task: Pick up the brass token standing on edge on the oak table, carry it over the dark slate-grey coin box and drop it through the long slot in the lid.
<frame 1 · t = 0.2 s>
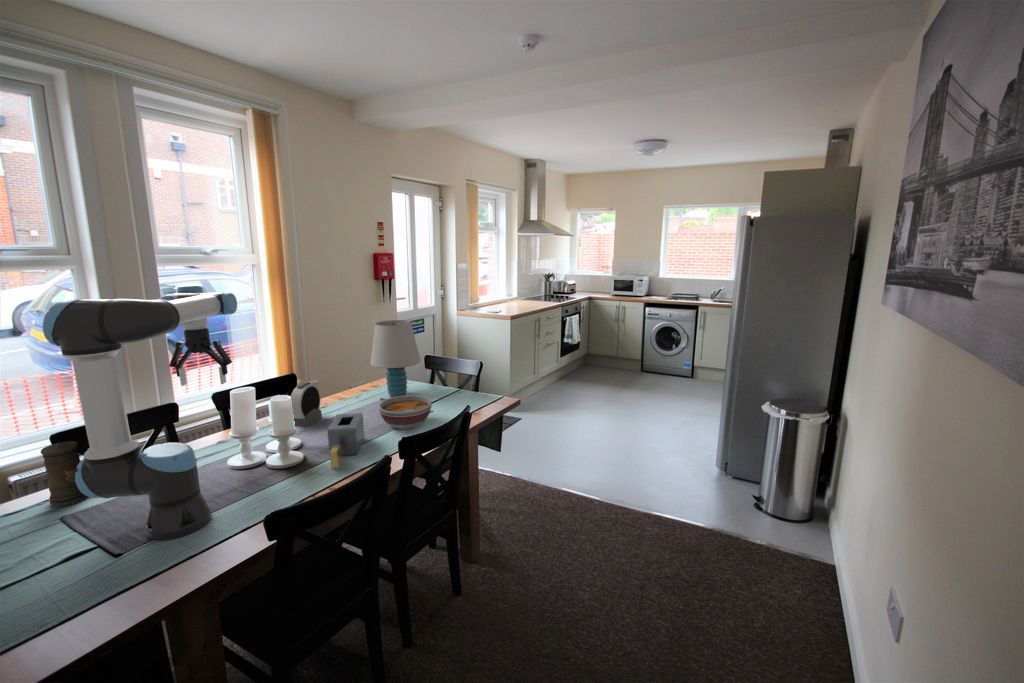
hand: (204, 384, 173), 28 cm above the table, fingers open, 13 cm apart
token: (336, 464, 169), on the table
coin box: (348, 447, 183), on the table
lamp: (397, 395, 247), on the table
bowl: (406, 425, 207), on the table
alarm clock: (307, 421, 211), on the table
container: (70, 500, 147), on the table
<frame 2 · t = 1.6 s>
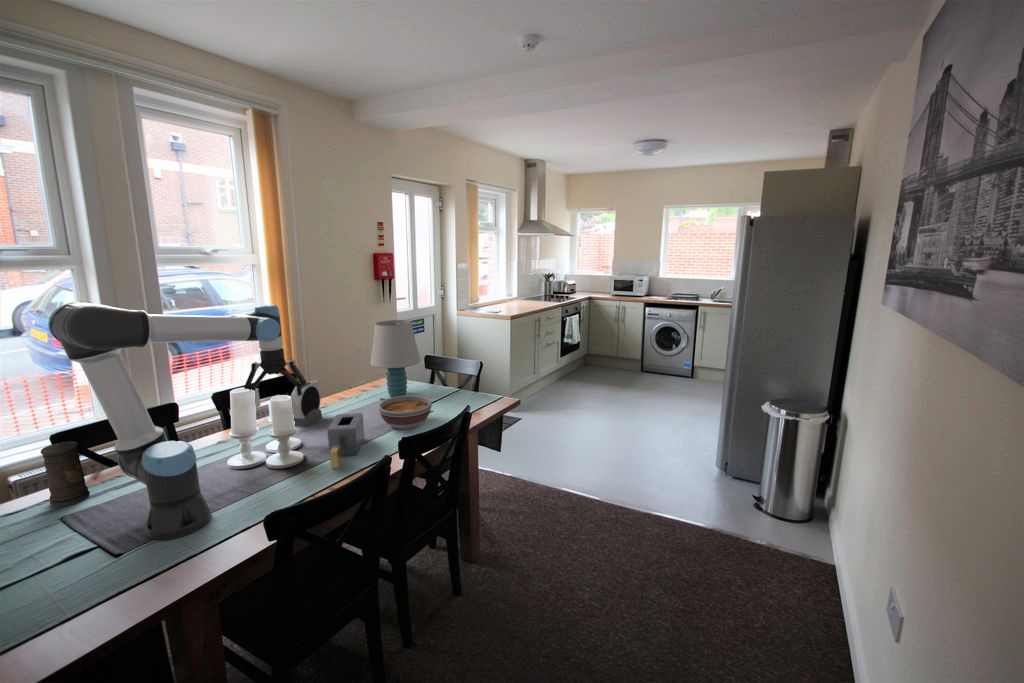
hand: (278, 405, 169), 21 cm above the table, fingers open, 13 cm apart
nothing on the table moved.
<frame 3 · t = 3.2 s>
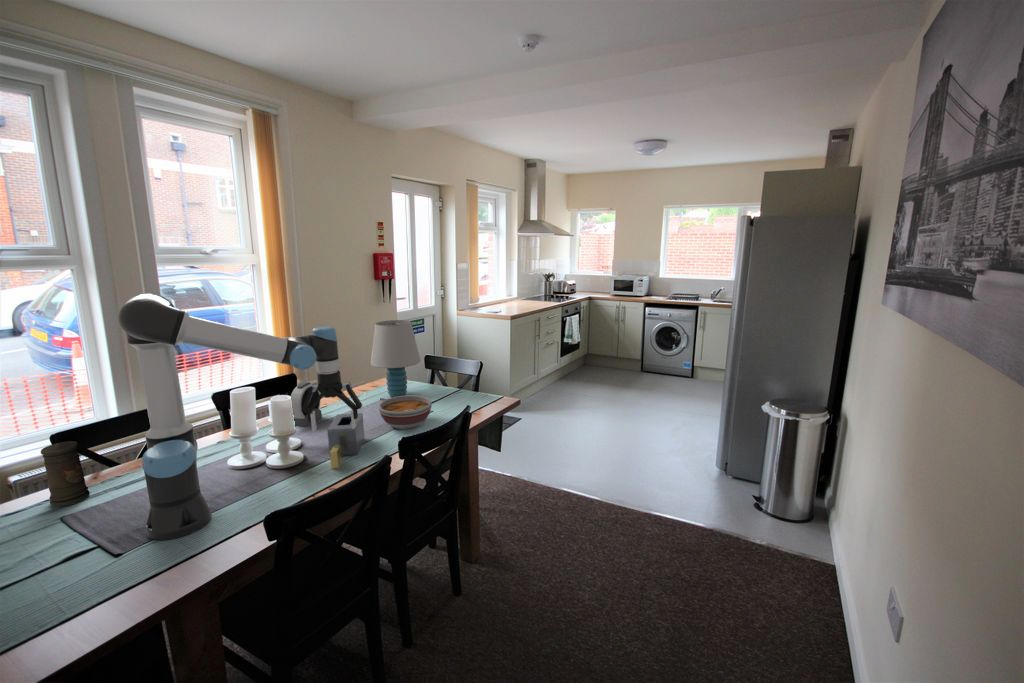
hand: (334, 428, 166), 14 cm above the table, fingers open, 13 cm apart
nothing on the table moved.
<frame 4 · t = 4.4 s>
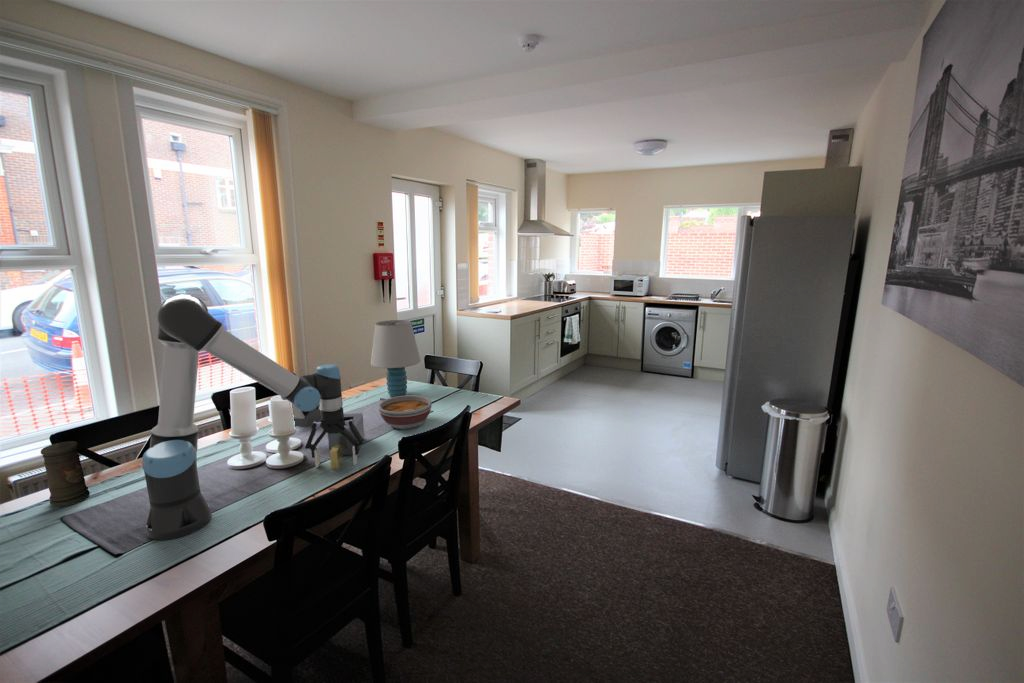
hand: (336, 464, 169), 0 cm above the table, fingers open, 12 cm apart
nothing on the table moved.
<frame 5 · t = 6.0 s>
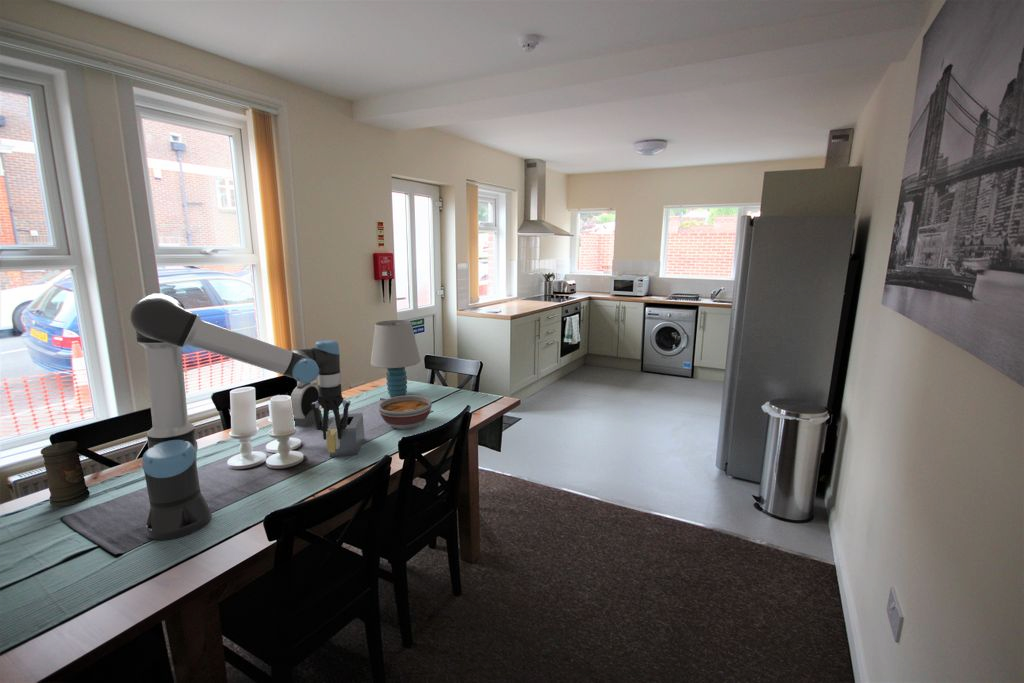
hand: (333, 447, 167), 7 cm above the table, fingers closed on token, 2 cm apart
token: (333, 448, 167), point 6 cm above the table, touching gripper
everything else where it was.
when the fingers open (13 cm above the table, at t = 8.0 s): token drops 11 cm, resting on coin box.
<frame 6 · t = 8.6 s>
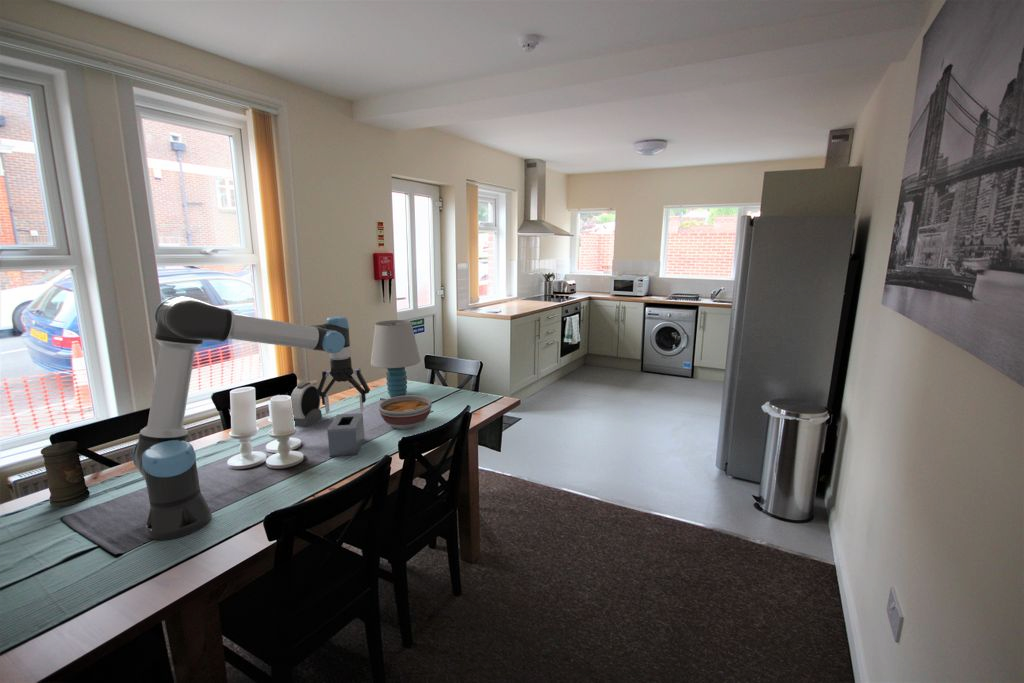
hand: (345, 411, 180), 15 cm above the table, fingers open, 12 cm apart
token: (347, 444, 183), point 1 cm above the table, tilted 26°, touching coin box
everything else where it was.
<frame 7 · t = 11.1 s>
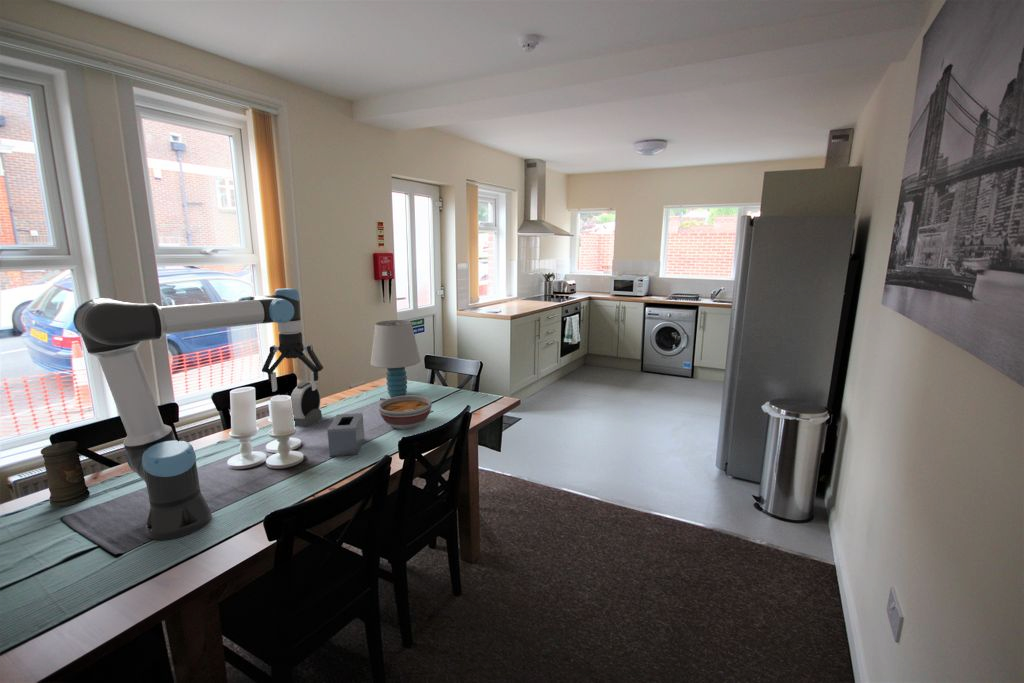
hand: (294, 390, 168), 27 cm above the table, fingers open, 13 cm apart
nothing on the table moved.
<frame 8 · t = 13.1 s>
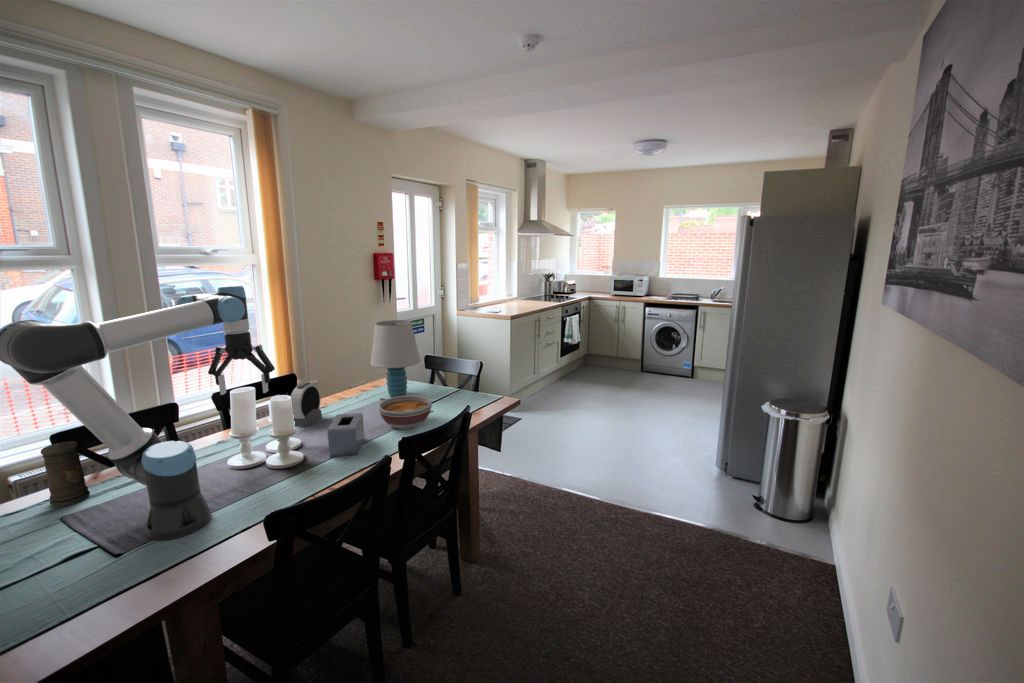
hand: (244, 392, 159), 29 cm above the table, fingers open, 13 cm apart
nothing on the table moved.
at the end: token inside the target area on the coin box (0.3 cm from its centre), point 1.1 cm above the coin box's base; the gripper is holding nothing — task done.
